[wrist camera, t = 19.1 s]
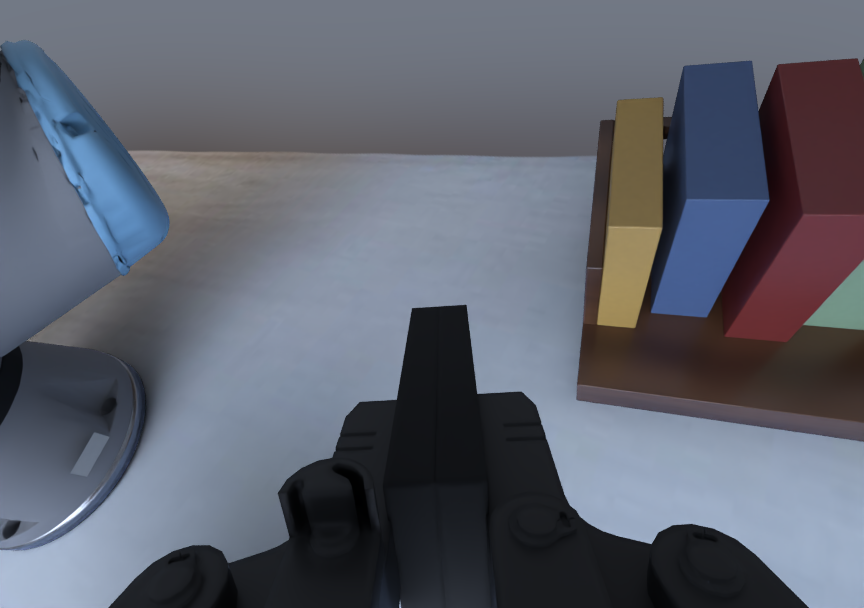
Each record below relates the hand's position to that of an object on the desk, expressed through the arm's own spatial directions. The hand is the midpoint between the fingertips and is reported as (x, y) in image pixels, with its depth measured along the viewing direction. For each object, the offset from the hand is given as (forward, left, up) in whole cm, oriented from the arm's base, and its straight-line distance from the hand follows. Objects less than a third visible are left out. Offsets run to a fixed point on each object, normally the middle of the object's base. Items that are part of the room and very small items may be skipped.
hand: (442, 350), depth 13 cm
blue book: (+5, +17, -15) cm, 23 cm away
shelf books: (+5, +15, -15) cm, 22 cm away
